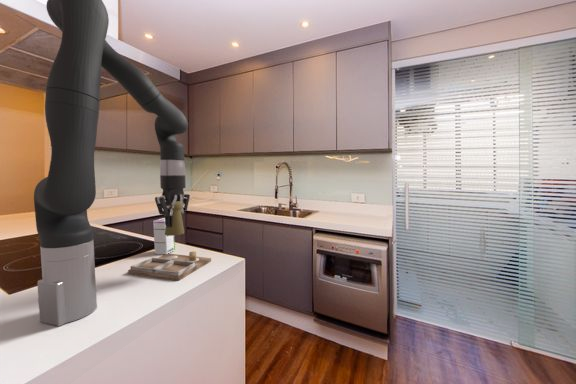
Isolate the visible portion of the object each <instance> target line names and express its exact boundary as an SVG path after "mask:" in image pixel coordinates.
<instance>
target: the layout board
mask: <svg viewBox="0 0 576 384" xmlns="http://www.w3.org/2000/svg"><path fill="white" fill-rule="evenodd" d="M211 262H212V257H206V256H205V257H203V256H197V251H190V252H189V253H188V255H186V254H185V255H184V254H176V253H175V254H174V253H169V254H165V255H163V254H162V256H161V255H160V256H157V257H150V258H148V259H145V260H143V261H140V262H138V263H136V264H133V265H131V266H130V268H129V269H128V270H127V273H128V274H129V275H136V276H143V277H150V278H157V279H165V280H171V281H181V280H183V279H184V278H186V277H187V276H189V275H191V274H192V273H194V272H196V271H197V270H199V269H200V268H202V267H204V266H206V265H207V264H209V263H211Z"/></svg>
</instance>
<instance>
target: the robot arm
mask: <svg viewBox="0 0 576 384" xmlns="http://www.w3.org/2000/svg"><path fill="white" fill-rule="evenodd" d="M46 12H47V14H48V17H49V18H50V20H51V21H52V22H53V25H55V26H56V27H57V29H58V30H60V31H61V41H60V44H59V45H60V46H59V49H58V50H57V54H56V56H55V58H54V60H53V63H52V65H51V68H50V71H49V74H48V77H47V81H46V86H45V96H44V97H45V98H44V115H45V122H46V128H47V132H48V136H49V139H50V146H51V149H50V151H51V154H50V155H51V156H50V164H49V169H48V174H47V176H46V177H44V178H43V179H41V180H39V182H38V183H37V185H36V186H35V188H34V191H33V205H34V207H33V208H34V215H35V216H34V217H35V225H36V233H37V235H38V239H39V245H40V247H39V248H40V263H41V278H42V279H38V281H37V297H38V310H39V313H38V315H39V322H40V323H45V324H49V325H52V326H55V327H56V326H57V327H60V326H62V325H64V324H67V323H70V322H74V321H78V320H80V319H82V318H85V317H86V316H89V315H90V314H92V313H93V312H94V311H95V310H97V308H98V304H97V302H98V301H97V285H96V284H97V283H96V281H97V280H96V279H97V278H96V265H95V263H96V262H95V246H94V245H95V243H94V229H93V227H92V226H91V224H90V221H89V218H88V209H90V208H91V206H92V205H93V204H94V203H95V200H96V196H97V195H96V194H97V193H96V191H97V190H96V189H97V188H96V187H97V186H96V176H95V175H96V172H95V149H96V143H97V137H98V124H99V123H98V122H99V114H100V103H101V102H100V101H101V100H100V99H101V97H100V96H101V82H102V81H101V80H102V69H104V70H105V71H106V72H107V73H108V74H110V75H111V77H113V78H114V79H115V80H116V81H117V82H118V84H120V85H121V86H122V87H123V88H124V90H126V92H127V93H128V94H129V95H130V96H131V97H132V98H133V99H134V100H135V101H136V103H138V105H139V106H140V108H141V109H142V110H144V111H145V112H147V113H150V114H153V115H156V118H155V119H154V132H155V135H156V138H157V142H158V145H159V148H160V149H159V151H160V152H159V153H160V165H159V176H160V177H159V180H160V183H159V184H160V185H159V186H160V189H162V194H161V195H160V196H156V197H154V201H155V204H156V207H157V210H158V213H159V215H161V216H164V218H165V225H166V227H172V222H173V216H172V214H173V210H172V209H174V204H175V203H176V201H180V202H181V203H182V209H181V215H182V221H183V217H184V216H183V214H184V213H185V212H187V210H188V206H189V201H190V196H191V195H190V194H188V193H187V194H186V193H185V192H184V189H186V166H185V165H186V164H185V150H184V145H183V143H181V142H178V141H177V139H176V135H182V134H184V133H185V132H187V130H188V128H189V122H188V119H187V116H185V114H184V113H183V112H182V111H181V110H180V108H178V107H177V105H175V104H173V102H171V101H170V100H168V99H167V98H166V97H165V96H163V94H162V93H161V91H160V90H159V89H158V88H157V86H156V85H155V84H154V83H153V81H152V80H151V79H150V78H149V77H148V76H147V75H146V74H145V73H144V72H143V71H142V70H140V69H139V68H138V67H137V66H135V65H134V64H132V63H131V62H130V61H128V60H127V59H126V58H125V57H124V56H122V55H121V54H120V53H119V52H117V51H116V50H115V49H114V48H113V46H111V45H110V44H109V42H108V41H107V40H106V38H107V33H108V31H109V30H108V29H109V25H110V23H109V21H110V20H109V19H110V18H109V13H108V10H107V8H106V5H105V3H104V1H103V0H47V1H46ZM166 204H171V206H166ZM167 208H169V212H168V209H167Z"/></svg>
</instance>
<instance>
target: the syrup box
mask: <svg viewBox="0 0 576 384" xmlns="http://www.w3.org/2000/svg"><path fill="white" fill-rule="evenodd" d="M152 225H153V243H154V254H155V255H163V254H168V253H169V254H171V253H173V252H175V251H176V240H175V239H176V237H175V236H176V235H174V236H168V235H165V228H166V225H165V217H162V218H159V219H156V220H155V219H154V220H153V224H152ZM174 250H175V251H174ZM172 251H173V252H172ZM170 252H171V253H170Z"/></svg>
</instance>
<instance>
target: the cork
mask: <svg viewBox="0 0 576 384" xmlns="http://www.w3.org/2000/svg"><path fill="white" fill-rule="evenodd" d="M166 206H171V204H166ZM167 209H168V212H169V208H167ZM181 209H182V203H181V202H180V201H176V203H175V204H174V209H172V210H173V214H172V216H173V222H172V227H166V228H165V235H168V236H174V235H175V236H181V235H184V234H185V228H184V222H183V221H182V215H181Z"/></svg>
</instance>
